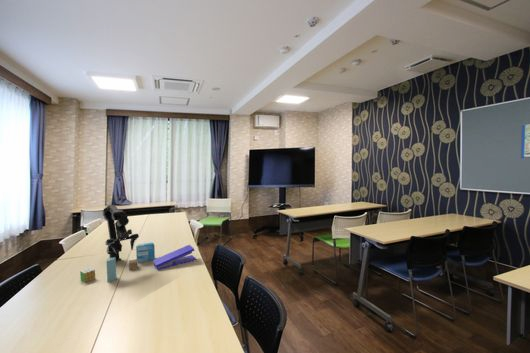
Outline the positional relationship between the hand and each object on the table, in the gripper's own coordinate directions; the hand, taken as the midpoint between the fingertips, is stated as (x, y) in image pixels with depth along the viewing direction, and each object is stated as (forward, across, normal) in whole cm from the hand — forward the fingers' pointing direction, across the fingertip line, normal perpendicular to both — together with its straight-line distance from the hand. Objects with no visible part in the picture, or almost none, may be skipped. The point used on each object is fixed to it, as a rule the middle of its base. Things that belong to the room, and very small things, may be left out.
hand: (124, 251), depth 160 cm
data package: (+8, +17, +15) cm, 24 cm away
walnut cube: (+11, +6, +8) cm, 15 cm away
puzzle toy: (+10, -20, +10) cm, 24 cm away
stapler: (+17, +30, -3) cm, 34 cm away
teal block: (+15, -9, 0) cm, 17 cm away
